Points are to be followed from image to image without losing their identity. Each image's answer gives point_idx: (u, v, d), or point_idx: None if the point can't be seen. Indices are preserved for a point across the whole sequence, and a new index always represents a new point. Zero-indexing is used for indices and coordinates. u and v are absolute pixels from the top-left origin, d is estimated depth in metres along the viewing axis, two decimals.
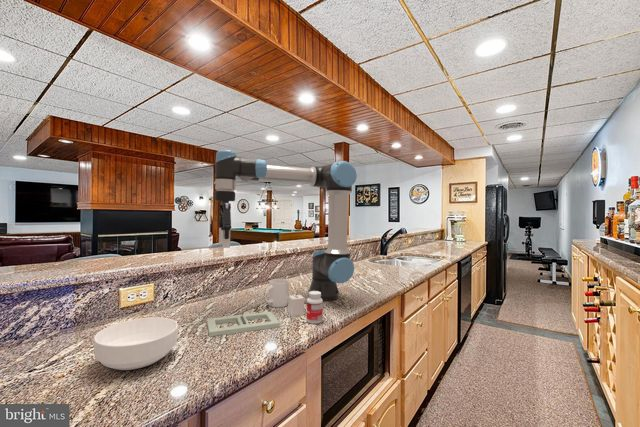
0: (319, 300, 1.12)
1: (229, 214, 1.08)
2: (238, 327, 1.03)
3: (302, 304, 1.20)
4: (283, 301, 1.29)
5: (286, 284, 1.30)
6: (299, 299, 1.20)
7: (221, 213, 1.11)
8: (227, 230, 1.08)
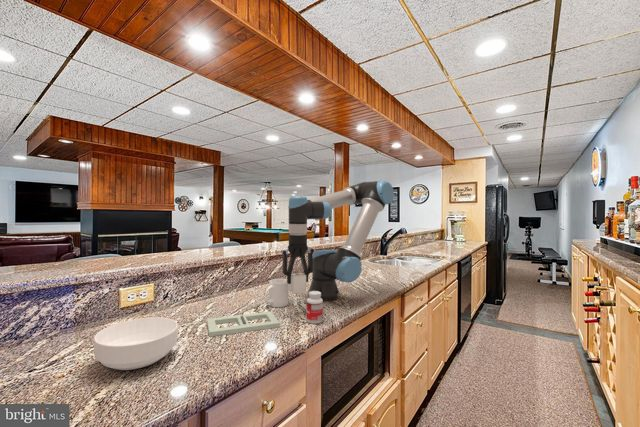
0: (319, 300, 1.12)
1: (284, 261, 1.18)
2: (238, 327, 1.03)
3: (304, 281, 1.20)
4: (283, 301, 1.29)
5: (286, 284, 1.30)
6: (300, 276, 1.20)
7: (290, 257, 1.22)
8: (287, 276, 1.20)
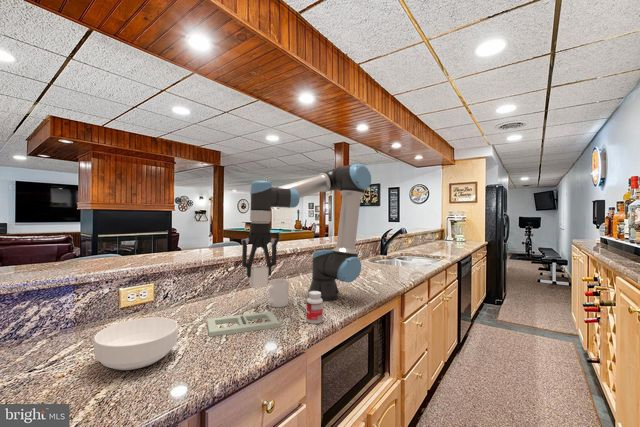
0: (319, 300, 1.12)
1: (243, 252, 1.07)
2: (238, 327, 1.03)
3: (265, 274, 1.09)
4: (283, 301, 1.29)
5: (286, 284, 1.30)
6: (261, 269, 1.09)
7: (251, 248, 1.11)
8: (247, 268, 1.09)
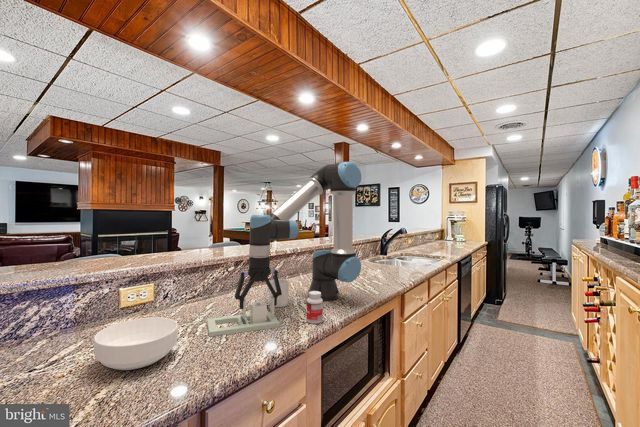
0: (319, 300, 1.12)
1: (239, 284, 1.07)
2: (238, 327, 1.03)
3: (264, 312, 1.09)
4: (283, 301, 1.29)
5: (286, 284, 1.30)
6: (261, 307, 1.09)
7: None
8: None
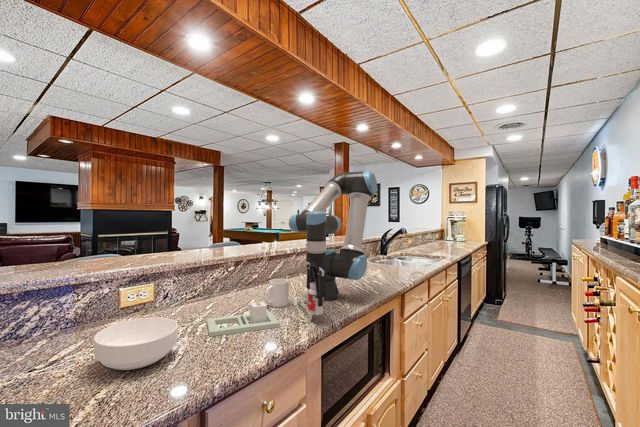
0: None
1: (324, 282, 1.09)
2: (238, 327, 1.03)
3: (264, 312, 1.09)
4: (283, 301, 1.29)
5: (286, 284, 1.30)
6: (261, 307, 1.09)
7: (315, 278, 1.11)
8: (321, 298, 1.10)
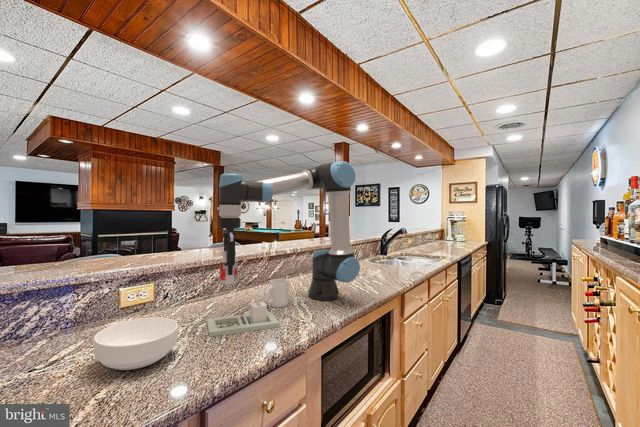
0: None
1: (233, 248, 1.01)
2: (238, 327, 1.03)
3: (264, 312, 1.09)
4: (283, 301, 1.29)
5: (286, 284, 1.30)
6: (261, 307, 1.09)
7: (225, 244, 1.03)
8: (231, 266, 1.02)
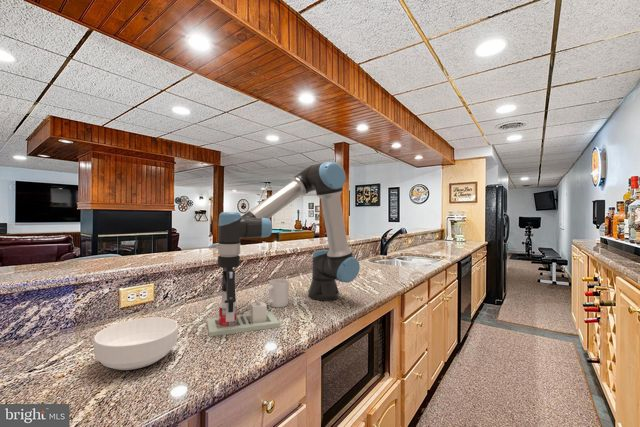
0: None
1: (233, 285, 0.99)
2: (238, 327, 1.03)
3: (264, 312, 1.09)
4: (283, 301, 1.29)
5: (286, 284, 1.30)
6: (261, 307, 1.09)
7: (225, 282, 1.02)
8: (231, 303, 0.99)
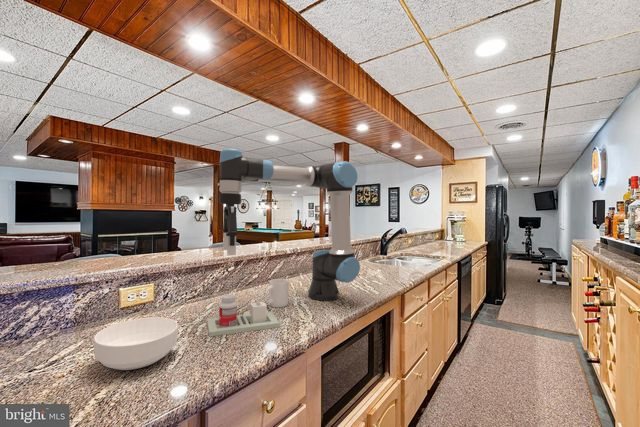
0: (231, 304, 1.05)
1: (235, 219, 0.99)
2: (238, 327, 1.03)
3: (264, 312, 1.09)
4: (283, 301, 1.29)
5: (286, 284, 1.30)
6: (261, 307, 1.09)
7: (226, 217, 1.02)
8: (233, 236, 0.99)
